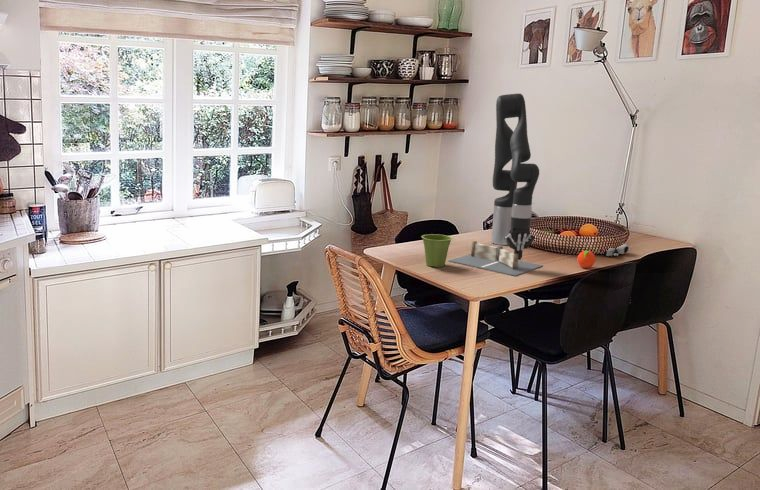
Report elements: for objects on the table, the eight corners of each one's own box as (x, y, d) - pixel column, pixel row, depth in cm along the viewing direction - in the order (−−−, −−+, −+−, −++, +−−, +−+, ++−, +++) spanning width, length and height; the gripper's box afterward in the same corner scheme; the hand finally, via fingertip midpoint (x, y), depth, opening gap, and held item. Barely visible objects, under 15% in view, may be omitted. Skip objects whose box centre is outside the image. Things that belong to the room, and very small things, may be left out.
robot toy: (617, 262, 281) (632, 254, 292) (618, 251, 280) (632, 244, 291) (590, 256, 289) (605, 249, 300) (590, 246, 288) (605, 239, 299)
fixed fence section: (470, 256, 276) (471, 241, 274) (472, 255, 277) (473, 241, 276) (494, 261, 268) (495, 246, 267) (497, 260, 270) (498, 245, 269)
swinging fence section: (495, 259, 269) (496, 246, 268) (500, 259, 269) (501, 246, 268) (513, 268, 256) (515, 254, 254) (518, 268, 256) (519, 254, 255)
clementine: (591, 271, 260) (593, 253, 259) (573, 268, 263) (575, 251, 262) (596, 267, 267) (598, 250, 265) (578, 264, 270) (580, 247, 269)
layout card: (477, 252, 284) (477, 251, 284) (542, 266, 265) (542, 265, 265) (448, 261, 267) (448, 260, 267) (515, 276, 249) (515, 275, 248)
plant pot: (456, 266, 261) (458, 237, 258) (437, 270, 252) (438, 241, 250) (433, 260, 269) (435, 232, 266) (413, 264, 260) (415, 236, 258)
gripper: (530, 213, 261) (527, 256, 265) (501, 214, 257) (497, 258, 261) (541, 216, 254) (537, 260, 258) (511, 218, 250) (507, 262, 254)
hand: (517, 259), depth 260 cm, fingers closed
